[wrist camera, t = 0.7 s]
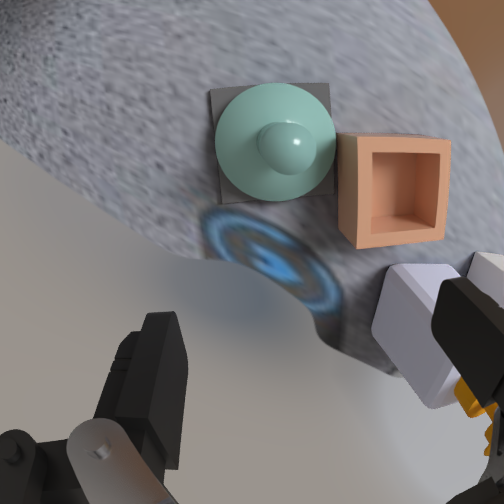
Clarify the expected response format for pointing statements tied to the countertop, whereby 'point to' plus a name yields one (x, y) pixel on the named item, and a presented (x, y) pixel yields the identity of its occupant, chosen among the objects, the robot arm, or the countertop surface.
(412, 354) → the soap bottle
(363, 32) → the countertop surface
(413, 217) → the dish
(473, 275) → the milk carton
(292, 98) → the lid
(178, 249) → the countertop surface
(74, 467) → the robot arm
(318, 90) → the mat
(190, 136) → the countertop surface
